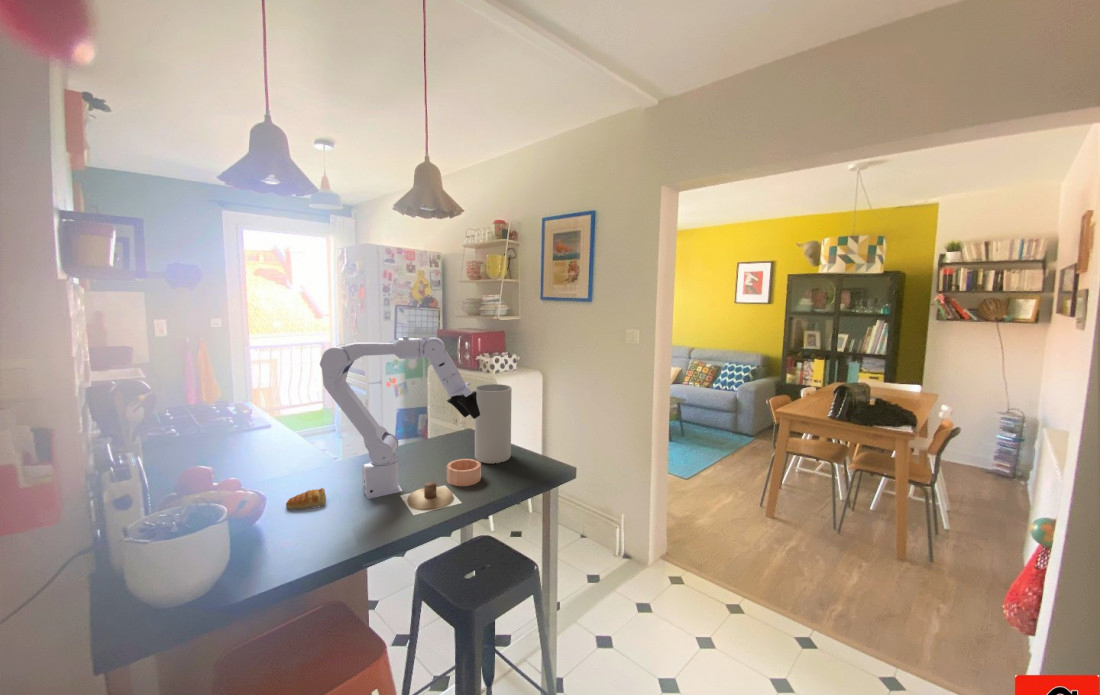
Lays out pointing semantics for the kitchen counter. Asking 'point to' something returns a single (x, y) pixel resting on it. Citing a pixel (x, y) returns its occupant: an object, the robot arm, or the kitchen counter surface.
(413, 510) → the mat
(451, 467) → the bowl
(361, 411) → the robot arm
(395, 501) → the kitchen counter surface
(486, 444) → the cylinder vase
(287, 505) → the pastry
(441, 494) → the lid
